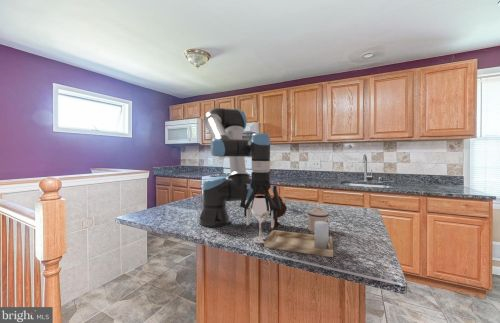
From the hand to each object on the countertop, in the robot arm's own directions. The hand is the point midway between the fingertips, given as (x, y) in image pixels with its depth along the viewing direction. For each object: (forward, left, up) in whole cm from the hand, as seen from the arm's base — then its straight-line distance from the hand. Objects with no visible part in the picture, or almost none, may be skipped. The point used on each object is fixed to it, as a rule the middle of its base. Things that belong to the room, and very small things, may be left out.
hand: (260, 225), depth 92 cm
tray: (+16, -2, -6) cm, 17 cm away
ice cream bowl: (+2, +21, -6) cm, 22 cm away
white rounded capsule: (+24, -2, -5) cm, 25 cm away
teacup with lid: (+22, +20, -6) cm, 30 cm away
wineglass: (0, 0, -6) cm, 6 cm away
